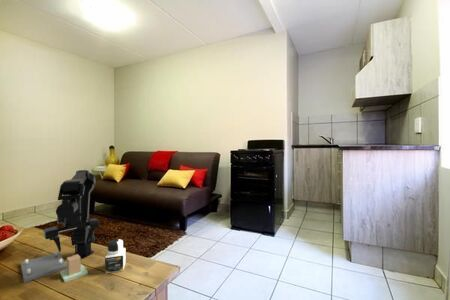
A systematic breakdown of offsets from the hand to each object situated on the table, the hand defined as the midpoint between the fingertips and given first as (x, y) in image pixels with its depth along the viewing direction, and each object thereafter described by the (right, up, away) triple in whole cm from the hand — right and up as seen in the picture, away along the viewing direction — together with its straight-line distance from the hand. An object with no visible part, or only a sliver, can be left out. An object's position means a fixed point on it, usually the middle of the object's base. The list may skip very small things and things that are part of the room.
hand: (73, 247), depth 92 cm
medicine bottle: (+16, -11, +5) cm, 20 cm away
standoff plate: (-17, -11, +6) cm, 21 cm away
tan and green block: (0, -11, 0) cm, 11 cm away
